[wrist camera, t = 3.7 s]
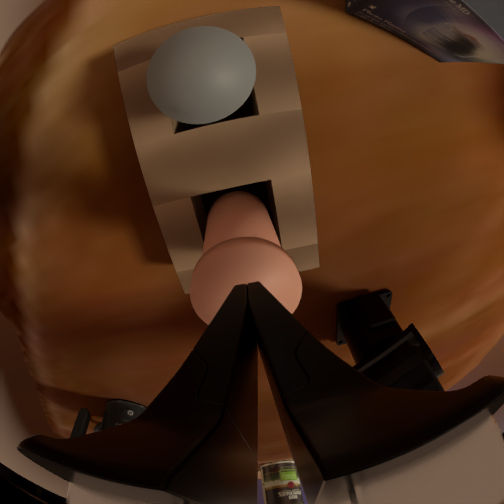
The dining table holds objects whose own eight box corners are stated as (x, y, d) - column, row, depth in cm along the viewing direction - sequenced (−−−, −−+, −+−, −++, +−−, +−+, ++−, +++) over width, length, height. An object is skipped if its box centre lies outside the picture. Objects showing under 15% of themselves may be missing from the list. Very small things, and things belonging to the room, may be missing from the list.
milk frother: (153, 403, 34) (143, 489, 21) (169, 438, 42) (166, 502, 29) (74, 389, 33) (54, 463, 20) (105, 427, 40) (95, 487, 28)
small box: (342, 16, 14) (421, -29, 4) (348, -36, 10) (413, -86, 1) (441, 66, 15) (529, 72, 6) (443, 16, 12) (521, 7, 3)
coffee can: (270, 460, 53) (276, 506, 41) (303, 459, 56) (311, 501, 44) (253, 469, 58) (257, 510, 45) (284, 468, 60) (291, 507, 48)
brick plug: (277, 243, 19) (305, 323, 12) (213, 256, 19) (208, 342, 12) (266, 180, 17) (296, 235, 10) (195, 195, 17) (174, 260, 10)
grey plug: (249, 112, 17) (265, 112, 10) (185, 126, 17) (158, 136, 10) (237, 54, 15) (245, 17, 8) (172, 68, 15) (138, 43, 8)
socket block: (305, 241, 23) (319, 267, 19) (190, 265, 23) (185, 294, 20) (269, 24, 14) (279, 6, 10) (133, 55, 14) (112, 45, 11)
